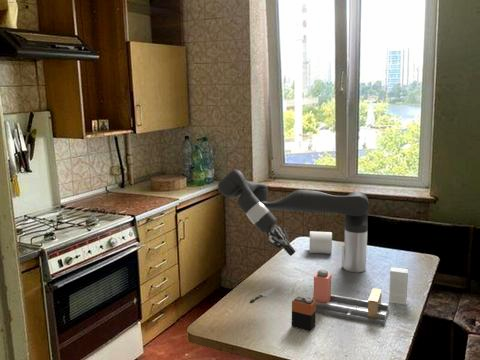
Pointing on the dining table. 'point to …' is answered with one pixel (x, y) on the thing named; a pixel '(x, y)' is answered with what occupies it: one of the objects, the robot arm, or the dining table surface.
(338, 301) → the rail
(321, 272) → the pink dome-topped pillar
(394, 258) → the dining table surface
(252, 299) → the chef's knife
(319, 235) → the toilet paper
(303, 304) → the battery
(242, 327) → the dining table surface
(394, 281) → the skincare box
